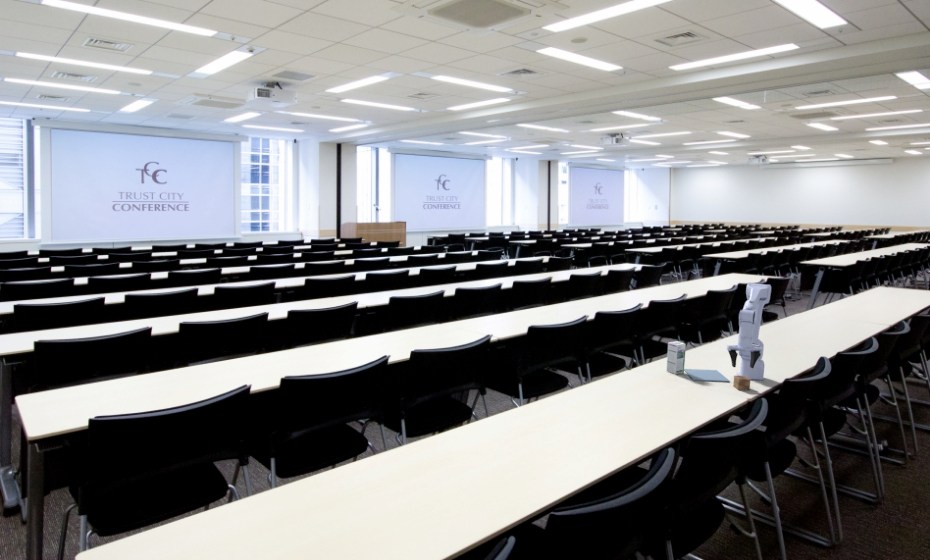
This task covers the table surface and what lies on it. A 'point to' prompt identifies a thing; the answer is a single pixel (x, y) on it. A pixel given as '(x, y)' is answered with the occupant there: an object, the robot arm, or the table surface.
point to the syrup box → (676, 357)
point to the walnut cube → (741, 383)
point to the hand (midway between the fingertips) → (742, 367)
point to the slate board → (706, 375)
